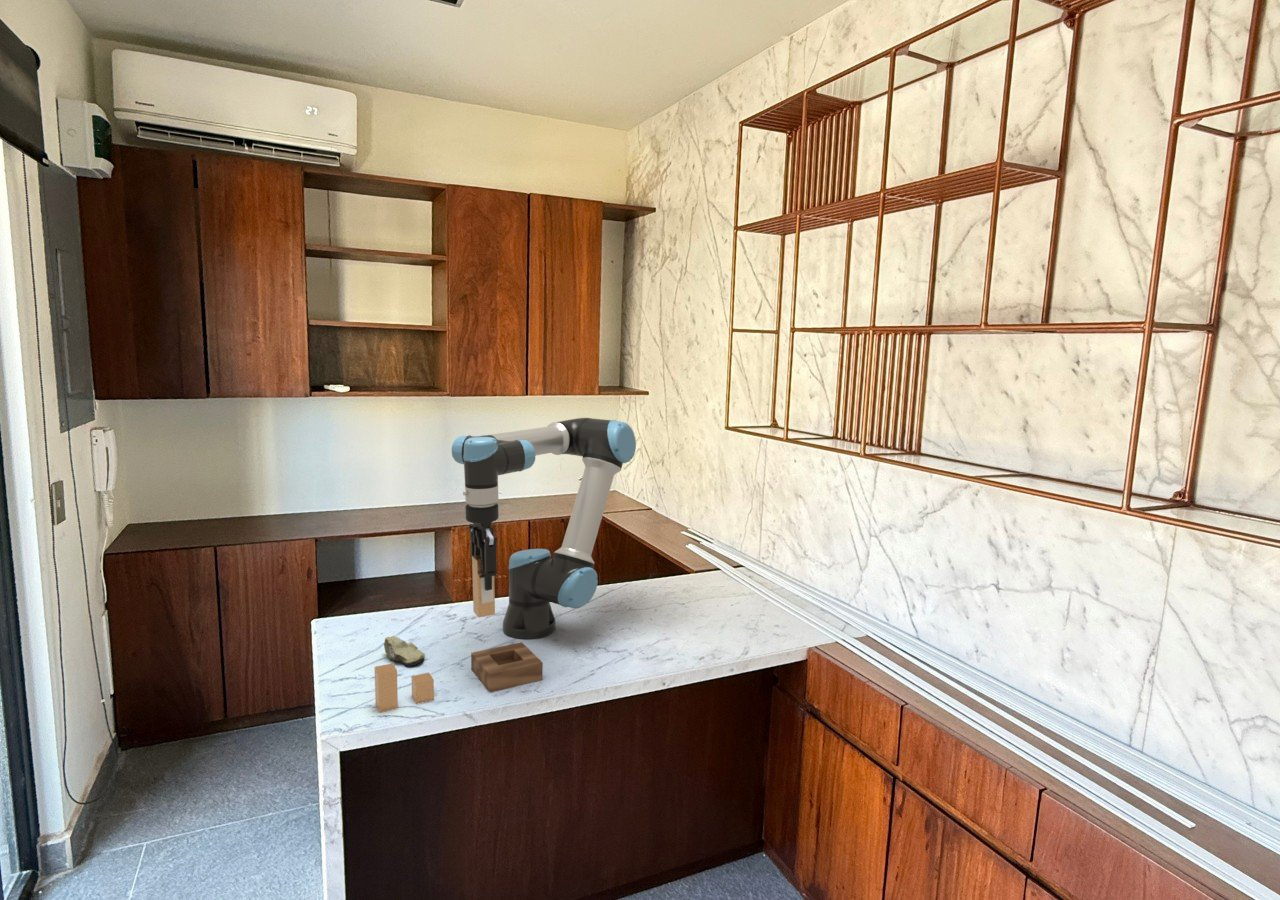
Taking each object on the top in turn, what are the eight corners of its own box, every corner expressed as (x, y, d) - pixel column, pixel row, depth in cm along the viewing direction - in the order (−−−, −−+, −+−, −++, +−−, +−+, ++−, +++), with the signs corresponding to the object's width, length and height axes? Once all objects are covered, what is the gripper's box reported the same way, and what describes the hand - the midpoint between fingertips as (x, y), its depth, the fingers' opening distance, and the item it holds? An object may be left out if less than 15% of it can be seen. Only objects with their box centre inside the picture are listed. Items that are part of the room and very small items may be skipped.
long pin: (473, 611, 167) (471, 555, 165) (489, 608, 169) (488, 553, 167) (478, 617, 164) (477, 560, 161) (495, 614, 166) (493, 558, 163)
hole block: (471, 669, 175) (471, 652, 174) (521, 658, 182) (521, 642, 181) (489, 692, 163) (489, 674, 163) (542, 679, 170) (542, 662, 170)
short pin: (411, 696, 160) (411, 676, 160) (429, 692, 163) (428, 672, 162) (416, 704, 157) (415, 683, 156) (433, 699, 159) (433, 679, 158)
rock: (422, 671, 175) (428, 649, 185) (421, 649, 174) (426, 628, 183) (378, 674, 174) (386, 651, 183) (376, 652, 172) (384, 630, 181)
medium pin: (375, 704, 156) (374, 666, 155) (393, 700, 158) (393, 663, 157) (379, 712, 153) (378, 674, 152) (397, 708, 155) (397, 670, 154)
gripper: (455, 497, 167) (458, 590, 171) (477, 513, 153) (480, 614, 157) (485, 494, 171) (487, 584, 175) (509, 509, 157) (511, 607, 160)
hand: (484, 598), depth 166 cm, fingers closed on long pin, 4 cm apart
